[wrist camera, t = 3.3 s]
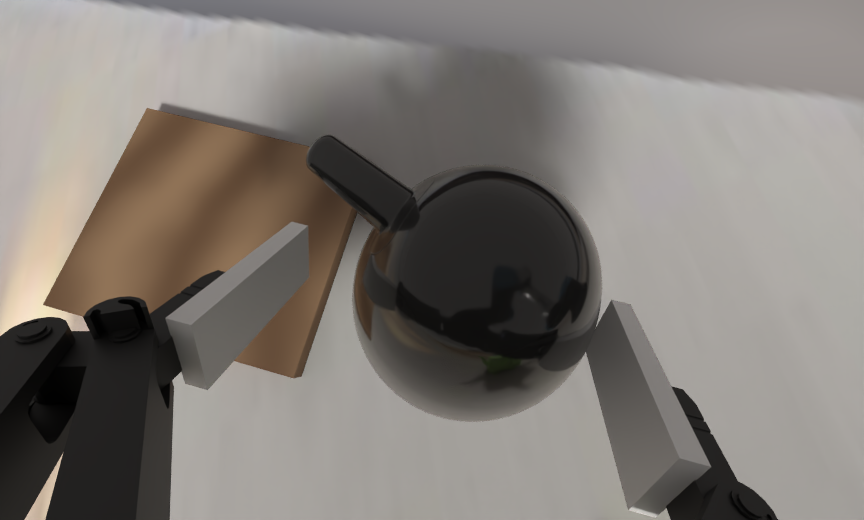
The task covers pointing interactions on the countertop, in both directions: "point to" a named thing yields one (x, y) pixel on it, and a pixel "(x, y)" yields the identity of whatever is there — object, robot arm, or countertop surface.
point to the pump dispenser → (467, 283)
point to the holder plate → (207, 227)
